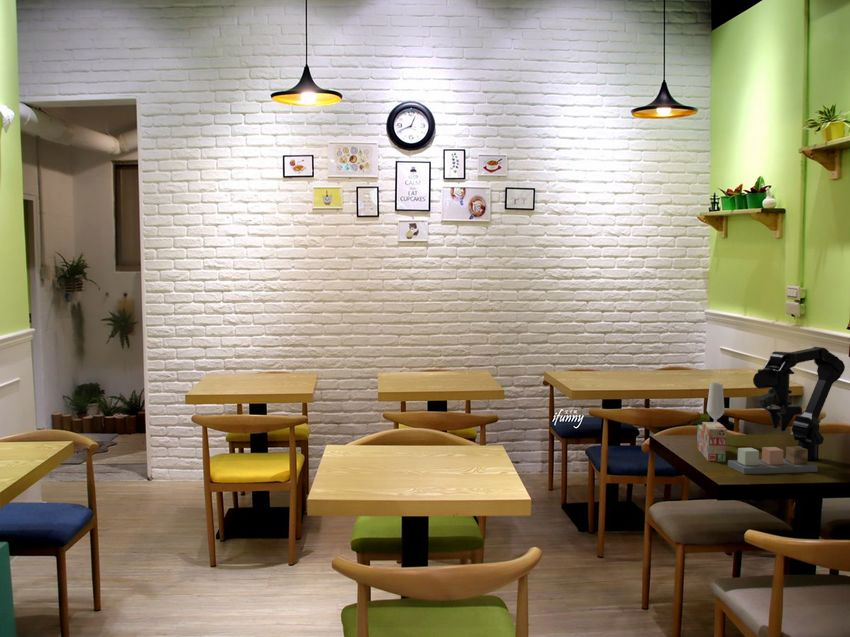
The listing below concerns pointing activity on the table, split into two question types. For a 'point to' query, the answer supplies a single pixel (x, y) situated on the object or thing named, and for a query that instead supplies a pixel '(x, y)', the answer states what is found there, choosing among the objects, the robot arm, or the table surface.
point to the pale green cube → (748, 456)
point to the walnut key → (796, 455)
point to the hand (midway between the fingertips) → (779, 429)
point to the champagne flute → (715, 401)
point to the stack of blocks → (712, 441)
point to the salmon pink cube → (772, 455)
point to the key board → (772, 467)
